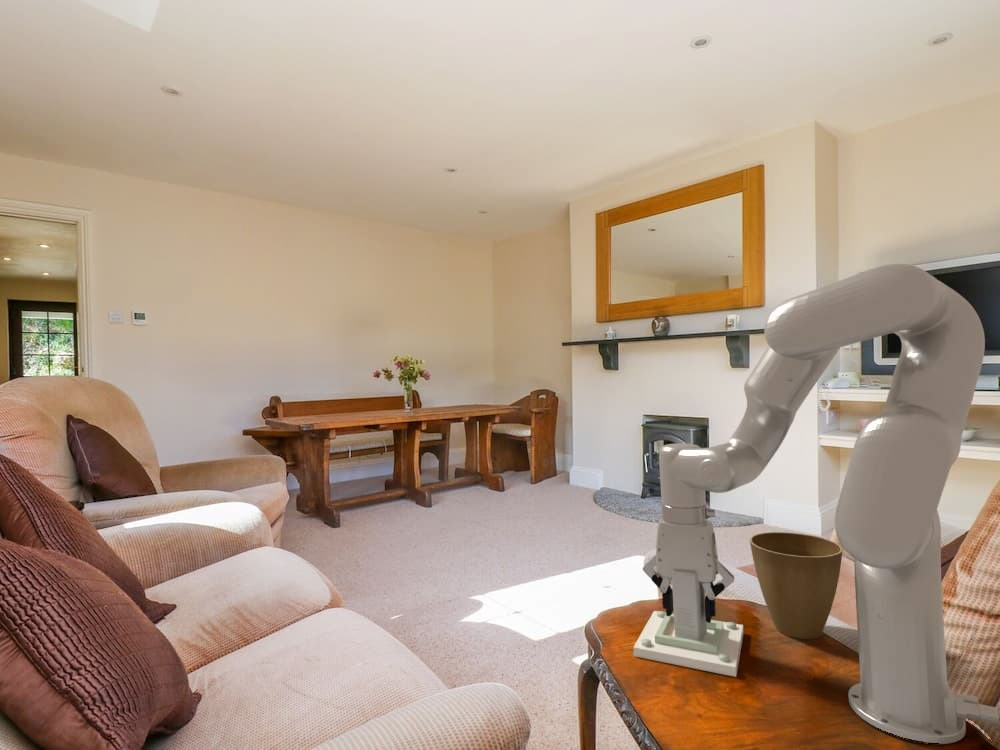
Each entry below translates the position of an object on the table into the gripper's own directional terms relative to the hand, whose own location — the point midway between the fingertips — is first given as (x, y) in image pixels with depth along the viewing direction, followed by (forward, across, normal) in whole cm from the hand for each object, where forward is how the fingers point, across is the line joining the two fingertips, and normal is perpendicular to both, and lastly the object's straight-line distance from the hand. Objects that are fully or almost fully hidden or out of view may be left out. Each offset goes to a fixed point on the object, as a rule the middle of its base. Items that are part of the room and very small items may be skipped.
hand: (689, 615), depth 94 cm
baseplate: (+5, 0, 0) cm, 5 cm away
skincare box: (+4, 0, 0) cm, 4 cm away
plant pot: (+5, -17, -13) cm, 22 cm away
